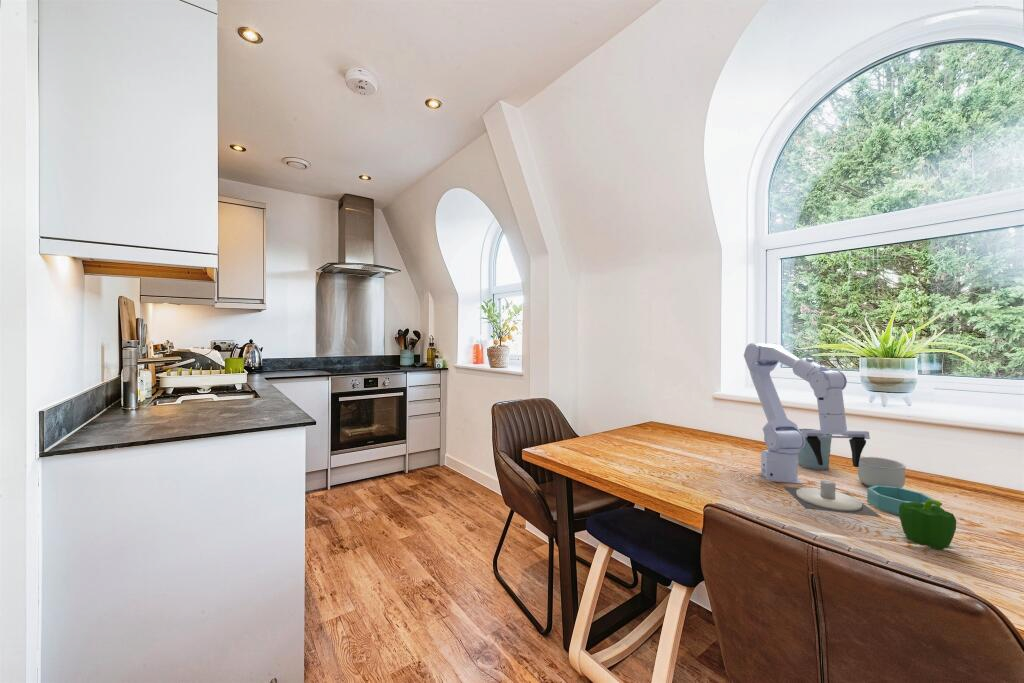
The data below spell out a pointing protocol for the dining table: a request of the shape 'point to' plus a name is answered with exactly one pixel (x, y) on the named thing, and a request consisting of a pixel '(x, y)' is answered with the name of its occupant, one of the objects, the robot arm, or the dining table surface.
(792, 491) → the mat
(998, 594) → the dining table surface
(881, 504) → the bowl
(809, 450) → the teal cup
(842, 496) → the lid
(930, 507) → the bell pepper
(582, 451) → the dining table surface
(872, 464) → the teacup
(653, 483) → the dining table surface
